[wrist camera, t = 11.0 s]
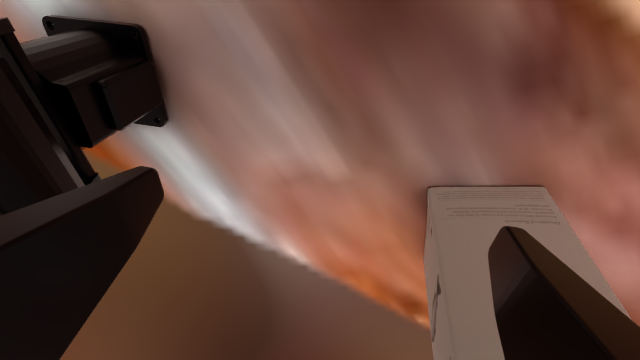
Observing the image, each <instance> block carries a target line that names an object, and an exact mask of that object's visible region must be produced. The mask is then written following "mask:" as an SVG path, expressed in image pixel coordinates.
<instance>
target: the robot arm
mask: <svg viewBox="0 0 640 360" xmlns="http://www.w3.org/2000/svg"><path fill="white" fill-rule="evenodd" d="M42 22H43V26H44V28H45V30H46V32H47V35H48V37H44V38H40V39H36V40H31V41H27V42H23V43H19V41H18V40H17V38H16V36H15V35H14V33H13V32H14V31H15V30H14V28H13V26H12V25H11V23H10V21H9V19H8V18H0V360H60V358H61V357H62V355H63V354H64V352H65V351H66V349H67V348H68V347H69V345H70V344H71V342H72V341H73V339H74V338H75V336H76V335H77V334H78V332H79V331H80V329H81V328H82V326H83V325H84V323H85V322H86V320H87V319H88V317H89V316H90V315H91V313H92V312H93V310H94V309H95V307H96V306H97V304H98V303H99V302H100V300H101V299H102V297H103V296H104V294H105V293H106V291H107V290H108V288H109V287H110V286H111V284H112V283H113V281H114V280H115V278H116V277H117V275H118V274H119V273H120V271H121V270H122V268H123V267H124V265H125V264H126V262H127V261H128V259H129V258H130V257H131V255H132V254H133V252H134V251H135V249H136V248H137V246H138V244H139V242H140V241H141V239H142V237H143V235H144V234H145V232H146V230H147V228H148V226H149V224H150V223H151V221H152V219H153V217H154V215H155V213H156V211H157V210H158V208H159V206H160V204H161V203H162V200H163V197H164V191H163V187H162V184H161V181H160V178H159V175H158V172H157V171H156V170H155V169H154V168H149V167H143V166H139V167H136V168H133V169H130V170H127V171H124V172H122V173H119V174H116V175H113V176H110V177H108V178H105V179H102V180H101V178H100V176H99V174H98V173H96V172H95V171H94V170H93V168H92V166H91V164H90V163H89V161H88V159H87V157H86V156H85V154H84V152H83V151H82V150H83V149H85V148H86V147H87V148H92V147H94V146H95V145H97V144H99V143H100V142H102V141H103V140H105V139H106V138H108V137H109V136H111V135H112V134H114V133H116V132H117V131H119V130H120V131H121V130H123V129H125V128H126V127H128V126H129V125H131V124H132V123H135V124H142V125H149V126H156V127H162V126H164V125H165V124H166V123H167V122H168V121H167V116H166V112H165V108H164V104H163V99H162V95H161V91H160V87H159V84H158V80H157V76H156V72H155V68H154V65H153V61H152V57H151V53H150V49H149V45H148V42H147V38H146V34H145V32H144V30H143V29H142V27H140V26H139V25H137V24H129V23H120V22H111V21H102V20H93V19H83V18H74V17H65V16H56V15H50V16H44V17H43V18H42ZM52 23H53V24H52ZM53 25H54V26H53ZM134 31H135V32H136V33H137V35H138V37H136V36H135V34H134ZM157 117H158V118H159V119H160V120H161V121H160V120H158V118H157ZM488 263H489V272H490V281H491V289H492V298H493V307H494V314H495V319H496V324H497V328H498V333H499V337H500V341H501V345H502V350H503V354H504V358H505V360H640V326H638V325H637V324H636V323H635V322H634V321H632V320H631V319H630V318H629V317H628V316H626V315H625V314H624V313H623V312H622V311H621V310H619V309H618V308H617V307H616V306H615V305H613V304H612V303H611V302H610V301H609V300H607V299H606V298H605V297H604V296H603V295H601V294H600V293H599V292H598V291H597V290H596V289H594V288H593V287H592V286H591V285H590V284H588V283H587V282H586V281H585V280H584V279H582V278H581V277H580V276H579V275H578V274H577V273H575V272H574V271H573V270H572V269H571V268H569V267H568V266H567V265H566V264H565V263H563V262H562V261H561V260H560V259H559V258H558V257H556V256H555V255H554V254H553V253H552V252H550V251H549V250H548V249H547V248H546V247H544V246H543V245H542V244H541V243H540V242H539V241H537V240H536V239H535V238H534V237H533V236H531V235H530V234H529V233H528V232H527V231H525V230H524V229H522V228H518V227H512V226H503V227H502V228H501V229H500V230H499V232H498V234H497V235H496V237H495V239H494V241H493V242H492V244H491V246H490V248H489V251H488Z"/></svg>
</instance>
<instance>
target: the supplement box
mask: <svg viewBox="0 0 640 360" xmlns="http://www.w3.org/2000/svg"><path fill="white" fill-rule="evenodd" d="M427 194H428V206H427V226H426V238H425V247H424V255H423V259H424V269H425V279H426V289H427V299H428V309H429V319H430V329H431V338H432V347H433V355H434V360H505V358H504V354H503V350H502V345H501V341H500V337H499V333H498V328H497V324H496V319H495V314H494V307H493V298H492V289H491V281H490V272H489V263H488V251H489V248H490V246H491V244H492V242H493V241H494V239H495V237H496V235H497V234H498V232H499V230H500V229H501V228H502V227H503V226H512V227H518V228H522V229H524V230H525V231H527V232H528V233H529V234H530V235H531V236H533V237H534V238H535V239H536V240H537V241H539V242H540V243H541V244H542V245H543V246H544V247H546V248H547V249H548V250H549V251H550V252H552V253H553V254H554V255H555V256H556V257H558V258H559V259H560V260H561V261H562V262H563V263H565V264H566V265H567V266H568V267H569V268H571V269H572V270H573V271H574V272H575V273H577V274H578V275H579V276H580V277H581V278H582V279H584V280H585V281H586V282H587V283H588V284H590V285H591V286H592V287H593V288H594V289H596V290H597V291H598V292H599V293H600V294H601V295H603V296H604V297H605V298H606V299H607V300H609V301H610V302H611V303H612V304H613V305H615V306H616V307H617V308H618V309H619V310H621V311H622V312H623V313H624V314H625V315H626V316H628V317H629V318H630V316H629V315H628V313H627V311H626V310H625V308H624V307H623V305H622V304H621V302H620V301H619V299H618V298H617V296H616V295H615V293H614V292H613V290H612V289H611V287H610V286H609V284H608V282H607V281H606V279H605V278H604V276H603V275H602V273H601V272H600V270H599V269H598V267H597V266H596V264H595V262H594V261H593V259H592V258H591V256H590V255H589V253H588V252H587V250H586V249H585V247H584V246H583V244H582V243H581V241H580V240H579V238H578V237H577V235H576V234H575V232H574V231H573V229H572V228H571V226H570V225H569V223H568V221H567V220H566V218H565V217H564V215H563V214H562V212H561V211H560V209H559V208H558V206H557V205H556V203H555V202H554V200H553V199H552V197H551V196H550V194H549V192H548V191H547V189H546V188H545V187H431V188H429V189H428V191H427ZM630 319H631V318H630ZM631 320H632V319H631Z"/></svg>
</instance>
